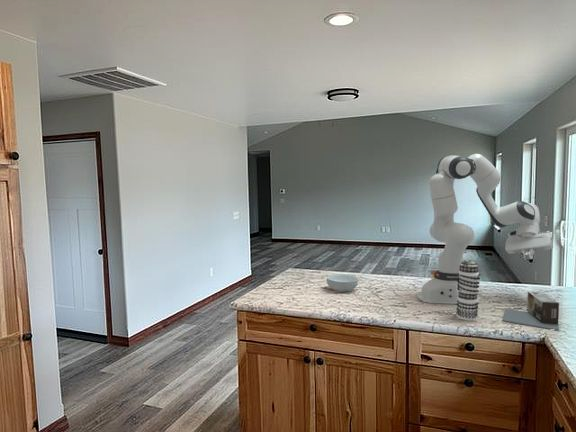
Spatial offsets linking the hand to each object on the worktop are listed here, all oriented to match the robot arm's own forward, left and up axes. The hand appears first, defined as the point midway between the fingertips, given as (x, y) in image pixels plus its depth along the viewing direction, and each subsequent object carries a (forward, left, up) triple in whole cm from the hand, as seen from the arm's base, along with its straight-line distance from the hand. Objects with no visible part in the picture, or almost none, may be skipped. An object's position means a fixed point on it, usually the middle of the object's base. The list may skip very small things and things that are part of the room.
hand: (527, 258), depth 188 cm
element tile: (-17, +42, -23) cm, 51 cm away
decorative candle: (-36, -15, -23) cm, 45 cm away
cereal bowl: (-83, +30, -23) cm, 91 cm away
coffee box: (-3, -10, -17) cm, 20 cm away
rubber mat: (-10, -19, -23) cm, 31 cm away
